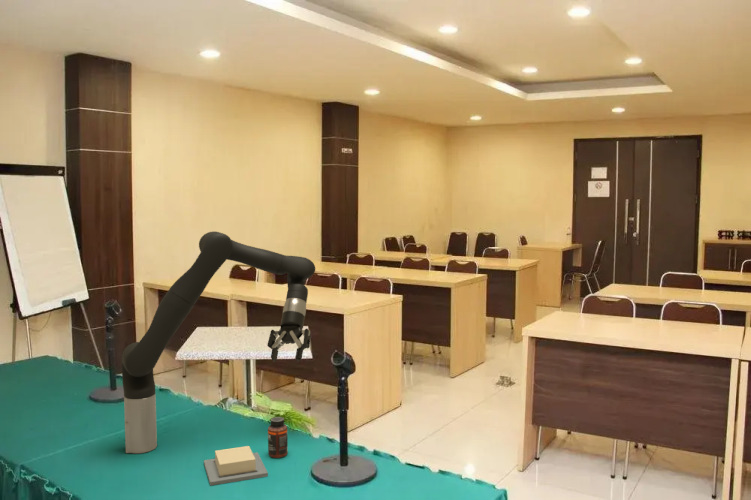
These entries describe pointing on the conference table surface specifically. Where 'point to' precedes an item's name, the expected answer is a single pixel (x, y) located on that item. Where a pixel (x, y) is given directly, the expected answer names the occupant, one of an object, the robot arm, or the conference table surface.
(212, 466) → the board
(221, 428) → the conference table surface
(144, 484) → the conference table surface
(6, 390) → the conference table surface
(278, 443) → the supplement bottle
